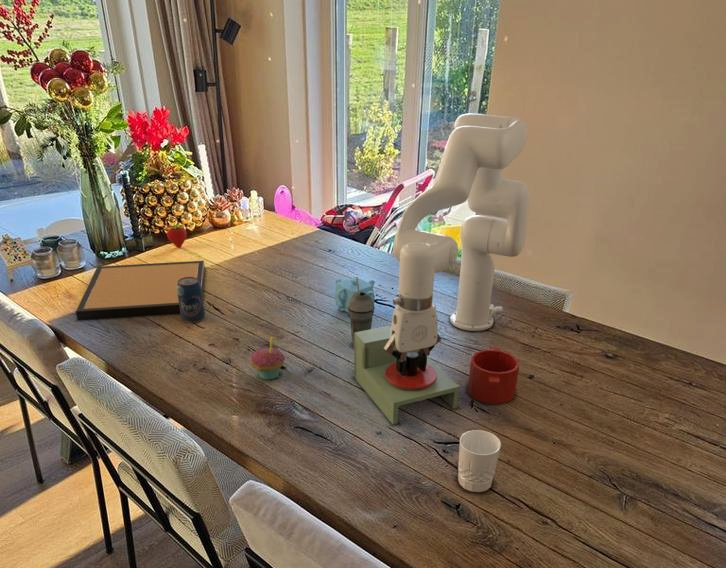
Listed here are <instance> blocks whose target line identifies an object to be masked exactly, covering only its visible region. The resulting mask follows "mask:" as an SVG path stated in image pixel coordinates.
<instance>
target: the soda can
mask: <svg viewBox="0 0 726 568" xmlns="http://www.w3.org/2000/svg"><path fill="white" fill-rule="evenodd" d="M176 288H177V294H178V300H179V306H180V312H181V313H180V317H181V318H182V319H183V321H184V322H186V323H189V324H190V323H193V324H194V323H198V322H200V321H202V320H204V318H205V315H206V311H205V303H204V297H203V293H202V289H201V284H200V283H199V282H198V279H197V278H194V277H185V278H181V279H179V280H178V284H177V287H176Z"/></svg>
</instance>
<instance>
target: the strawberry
mask: <svg viewBox="0 0 726 568" xmlns="http://www.w3.org/2000/svg"><path fill="white" fill-rule="evenodd" d="M168 228H169V229H168V230H167V231H166V237H167V239H168V241H170V242H171V244H173V245H174V246H175V247H176V248H179V249H180V248H182V246H183V245H184V243H185V241H186V239H187V234H188V232H187V230H186V229H185V228H184V227H183V225H178V224H177V222H175V224H173V226H169V227H168Z"/></svg>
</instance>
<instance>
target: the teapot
mask: <svg viewBox="0 0 726 568" xmlns="http://www.w3.org/2000/svg"><path fill="white" fill-rule="evenodd" d="M356 277H357V276H354V277H353V276H352V277H349V278H347V279H343V280H342V279H341V278H339V279H337V280H335V292H334V302H335V306H336V307H337V308H338V309H339V311H341V312H346V313H348V314H349V312H348V304H349V300H350V298H351V297H352V296H353V295H354V294H356V293H358V291H357V282H356ZM358 283H359V291H360V292H364V293H367V294H368V295H370V297H371V298H372V299H373V302H374V303H375V291H374V286H375V284H376V281H375V280H369V281H368V282H367V281H366V280H364V279H362V278H359V277H358Z"/></svg>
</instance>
